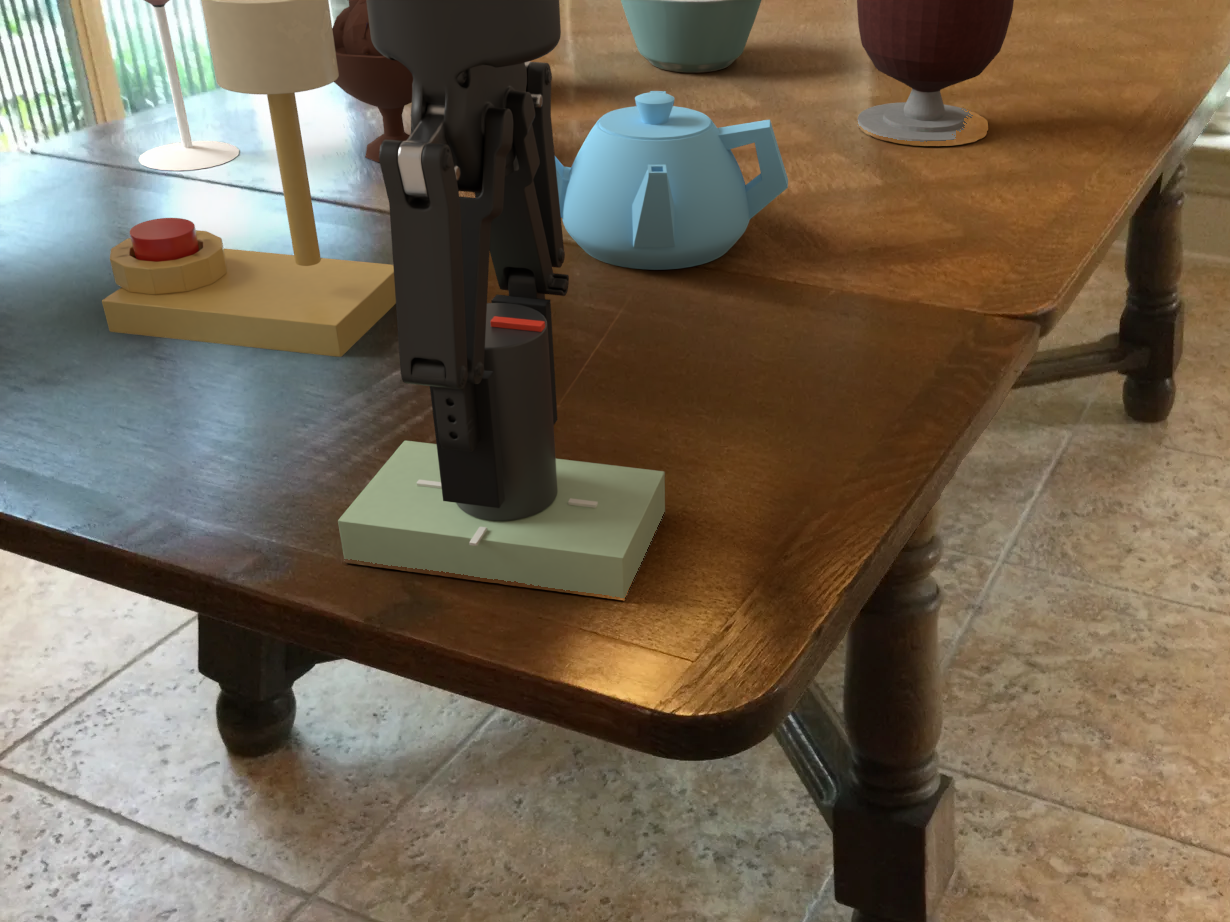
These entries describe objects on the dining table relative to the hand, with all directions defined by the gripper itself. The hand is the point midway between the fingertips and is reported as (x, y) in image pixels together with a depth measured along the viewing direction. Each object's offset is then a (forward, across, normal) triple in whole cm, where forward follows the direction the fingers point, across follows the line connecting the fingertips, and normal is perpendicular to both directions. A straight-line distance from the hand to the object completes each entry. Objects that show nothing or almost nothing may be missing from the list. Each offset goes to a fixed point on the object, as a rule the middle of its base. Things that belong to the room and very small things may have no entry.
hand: (503, 457), depth 65 cm
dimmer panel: (+5, 0, 0) cm, 5 cm away
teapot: (+5, +41, +3) cm, 41 cm away
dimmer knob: (+2, 0, 0) cm, 2 cm away
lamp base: (+5, +22, +25) cm, 34 cm away
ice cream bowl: (+5, +56, +30) cm, 64 cm away
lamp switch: (+1, +22, +31) cm, 38 cm away
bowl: (+5, +93, +12) cm, 94 cm away
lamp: (+1, +22, +21) cm, 30 cm away
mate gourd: (+5, +76, -15) cm, 78 cm away
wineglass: (+5, +51, +47) cm, 70 cm away
